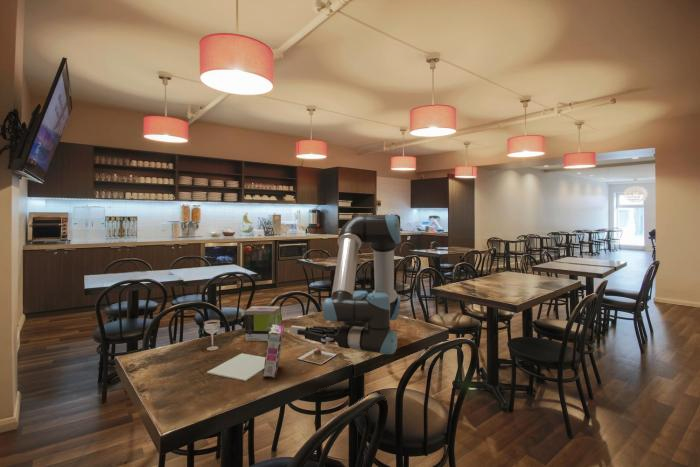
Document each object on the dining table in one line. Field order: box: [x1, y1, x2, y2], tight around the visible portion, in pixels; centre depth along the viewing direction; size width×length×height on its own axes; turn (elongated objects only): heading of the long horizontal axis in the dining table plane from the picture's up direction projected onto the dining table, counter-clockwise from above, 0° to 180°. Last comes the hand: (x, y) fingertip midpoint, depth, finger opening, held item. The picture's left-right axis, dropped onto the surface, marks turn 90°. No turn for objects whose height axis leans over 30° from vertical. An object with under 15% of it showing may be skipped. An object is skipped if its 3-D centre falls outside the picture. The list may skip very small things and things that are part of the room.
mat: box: [206, 352, 266, 382], centre depth 141 cm, size 18×20×1 cm
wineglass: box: [203, 319, 221, 351], centre depth 161 cm, size 7×7×12 cm
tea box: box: [244, 305, 282, 342], centre depth 174 cm, size 15×10×15 cm
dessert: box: [296, 347, 338, 366], centre depth 150 cm, size 12×12×5 cm
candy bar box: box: [262, 324, 285, 378], centre depth 136 cm, size 11×5×16 cm, turn 5°
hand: (291, 329), depth 131 cm, fingers closed
